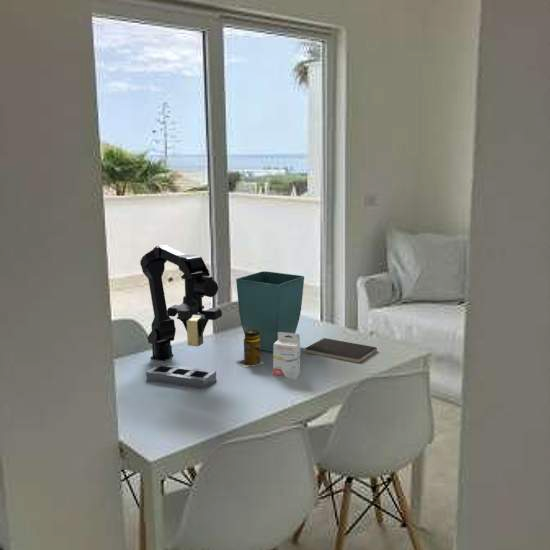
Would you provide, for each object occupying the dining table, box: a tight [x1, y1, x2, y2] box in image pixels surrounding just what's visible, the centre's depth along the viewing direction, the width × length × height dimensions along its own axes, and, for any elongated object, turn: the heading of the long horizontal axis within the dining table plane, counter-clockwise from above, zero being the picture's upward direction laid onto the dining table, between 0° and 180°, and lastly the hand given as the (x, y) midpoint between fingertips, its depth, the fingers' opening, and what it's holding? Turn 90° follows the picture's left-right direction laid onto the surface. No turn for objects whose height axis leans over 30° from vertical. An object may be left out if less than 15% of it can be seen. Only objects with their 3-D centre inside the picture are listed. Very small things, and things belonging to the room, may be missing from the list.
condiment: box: [235, 330, 265, 368], centre depth 216 cm, size 7×8×12 cm
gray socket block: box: [145, 363, 217, 390], centre depth 201 cm, size 22×9×3 cm, turn 68°
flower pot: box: [235, 270, 305, 353], centre depth 234 cm, size 20×20×28 cm
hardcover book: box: [304, 337, 378, 363], centre depth 229 cm, size 16×23×2 cm
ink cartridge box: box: [272, 332, 301, 379], centre depth 204 cm, size 9×5×15 cm, turn 71°
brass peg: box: [186, 317, 204, 348], centre depth 206 cm, size 4×4×9 cm
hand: (195, 336), depth 206 cm, fingers closed on brass peg, 4 cm apart
